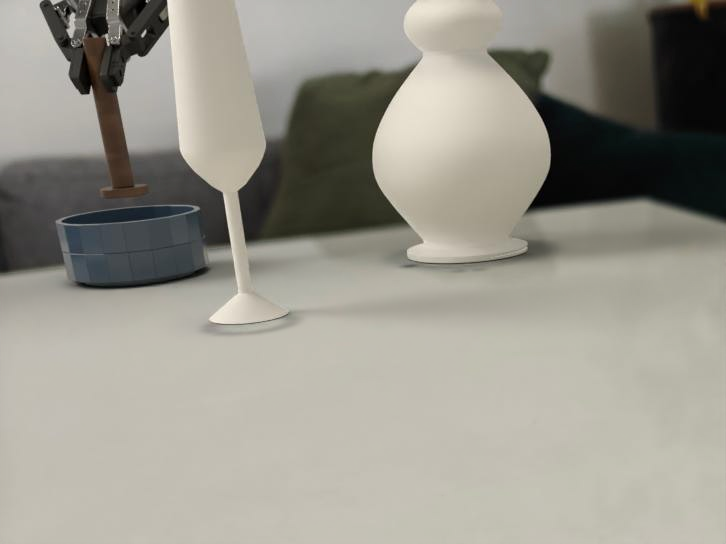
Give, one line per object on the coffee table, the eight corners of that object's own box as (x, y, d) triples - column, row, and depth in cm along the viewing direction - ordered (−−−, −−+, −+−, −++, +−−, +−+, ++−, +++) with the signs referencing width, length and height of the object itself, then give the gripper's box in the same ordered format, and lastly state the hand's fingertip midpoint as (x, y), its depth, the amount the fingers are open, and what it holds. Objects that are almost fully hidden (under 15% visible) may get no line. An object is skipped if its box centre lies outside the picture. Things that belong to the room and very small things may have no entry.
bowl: (51, 293, 110) (36, 228, 108) (90, 268, 123) (78, 210, 120) (195, 283, 110) (184, 218, 108) (220, 259, 123) (210, 201, 120)
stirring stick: (96, 199, 111) (62, 39, 104) (108, 194, 115) (76, 39, 109) (142, 196, 111) (111, 35, 104) (153, 191, 115) (124, 36, 109)
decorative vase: (585, 251, 113) (581, -39, 101) (423, 275, 106) (398, -32, 95) (504, 233, 127) (492, -23, 116) (357, 253, 121) (328, -16, 109)
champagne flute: (198, 325, 92) (139, -14, 81) (221, 308, 98) (168, -10, 87) (279, 322, 91) (230, -21, 80) (296, 304, 97) (254, -16, 86)
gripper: (34, -83, 109) (5, 61, 104) (170, -96, 107) (147, 51, 102) (71, -18, 116) (45, 120, 111) (199, -29, 114) (179, 111, 109)
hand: (94, 86), depth 107 cm, fingers closed on stirring stick
